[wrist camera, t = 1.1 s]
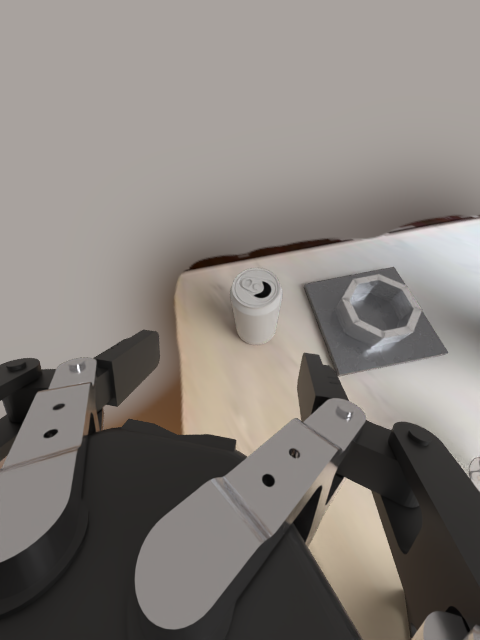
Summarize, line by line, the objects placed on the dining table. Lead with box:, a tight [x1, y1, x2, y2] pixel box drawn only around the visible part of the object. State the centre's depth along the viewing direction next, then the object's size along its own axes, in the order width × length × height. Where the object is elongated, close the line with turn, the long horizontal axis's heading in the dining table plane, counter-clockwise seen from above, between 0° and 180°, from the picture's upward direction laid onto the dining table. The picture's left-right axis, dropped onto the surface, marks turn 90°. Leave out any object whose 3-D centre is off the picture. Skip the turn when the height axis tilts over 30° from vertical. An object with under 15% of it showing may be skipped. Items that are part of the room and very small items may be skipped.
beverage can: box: [230, 268, 282, 345], centre depth 31 cm, size 6×6×12 cm
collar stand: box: [304, 267, 448, 376], centre depth 34 cm, size 16×16×4 cm
